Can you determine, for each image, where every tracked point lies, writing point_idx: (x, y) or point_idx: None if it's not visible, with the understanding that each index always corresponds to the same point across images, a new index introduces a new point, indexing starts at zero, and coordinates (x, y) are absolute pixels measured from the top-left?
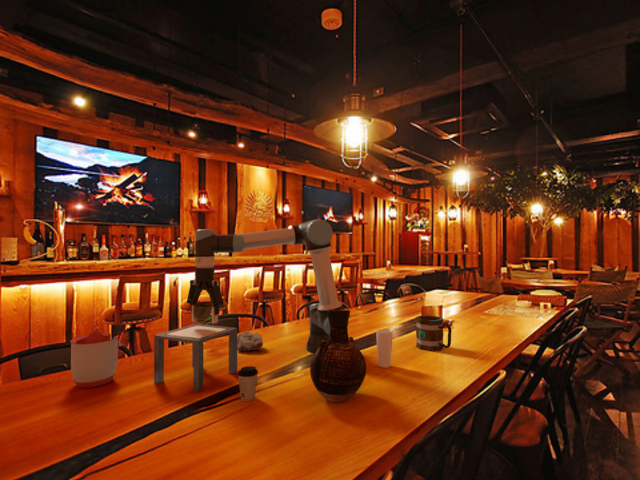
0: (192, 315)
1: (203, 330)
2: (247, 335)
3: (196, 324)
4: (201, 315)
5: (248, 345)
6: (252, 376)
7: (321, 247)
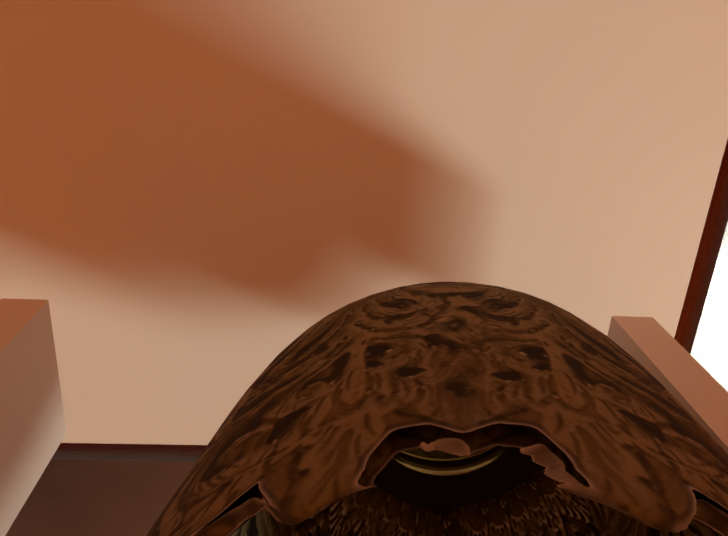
0: (705, 392)
1: (294, 227)
2: None
3: None
4: (306, 338)
5: None
6: None
7: None
